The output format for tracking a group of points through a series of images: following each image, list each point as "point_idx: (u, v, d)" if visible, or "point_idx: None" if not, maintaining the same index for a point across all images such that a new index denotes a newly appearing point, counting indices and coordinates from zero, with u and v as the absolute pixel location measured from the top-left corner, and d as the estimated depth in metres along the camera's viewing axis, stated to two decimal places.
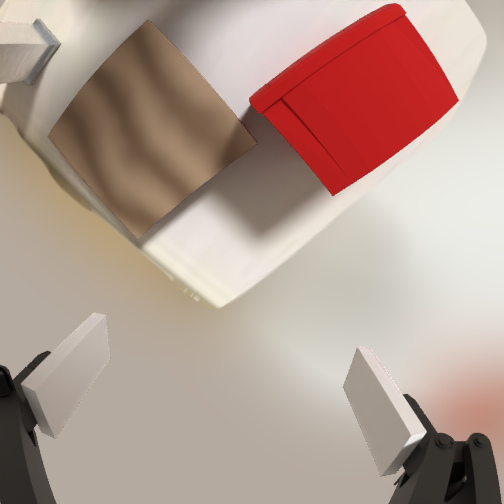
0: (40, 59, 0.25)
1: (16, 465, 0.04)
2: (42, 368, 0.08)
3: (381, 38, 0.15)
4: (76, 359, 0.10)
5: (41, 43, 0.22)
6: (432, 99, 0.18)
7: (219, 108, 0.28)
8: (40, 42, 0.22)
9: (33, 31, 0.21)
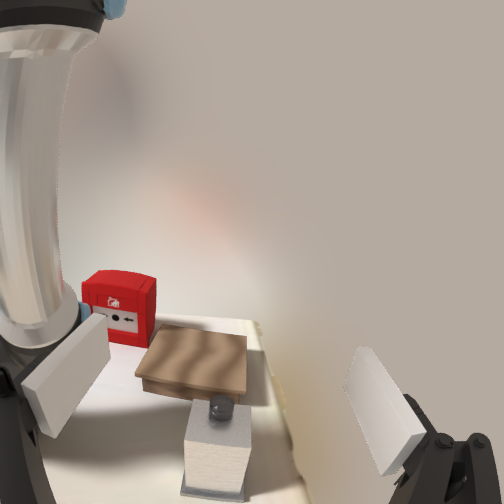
0: None
1: (16, 465, 0.04)
2: (42, 368, 0.08)
3: (100, 280, 0.58)
4: (76, 359, 0.10)
5: None
6: (106, 272, 0.64)
7: (159, 336, 0.58)
8: None
9: None
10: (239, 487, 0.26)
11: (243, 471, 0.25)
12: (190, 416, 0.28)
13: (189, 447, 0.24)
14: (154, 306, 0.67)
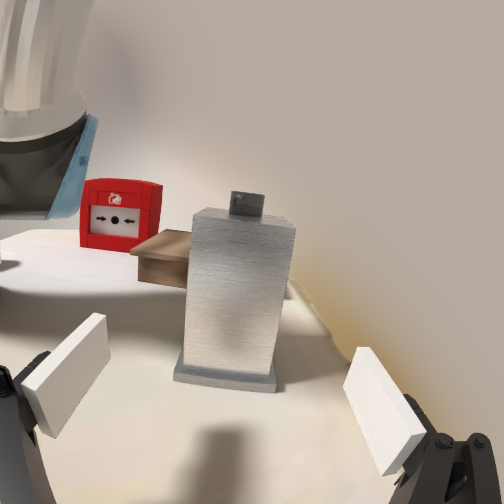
0: None
1: (16, 465, 0.04)
2: (42, 368, 0.08)
3: None
4: (76, 359, 0.10)
5: None
6: None
7: (162, 233, 0.53)
8: None
9: None
10: (270, 351, 0.21)
11: (280, 299, 0.20)
12: (203, 210, 0.23)
13: (199, 233, 0.19)
14: (158, 215, 0.62)
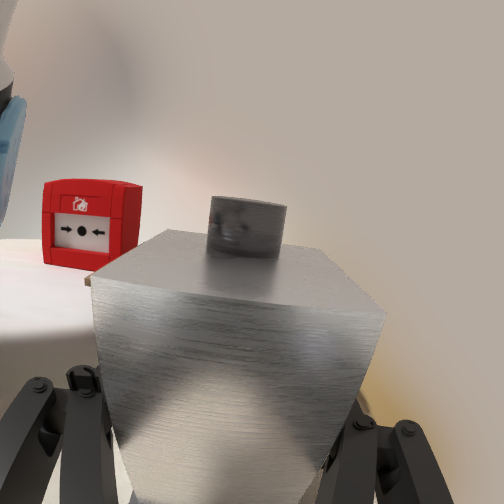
0: None
1: (88, 469, 0.05)
2: None
3: None
4: None
5: None
6: None
7: None
8: None
9: None
10: None
11: (322, 451, 0.07)
12: (147, 243, 0.10)
13: (113, 325, 0.06)
14: (137, 223, 0.49)
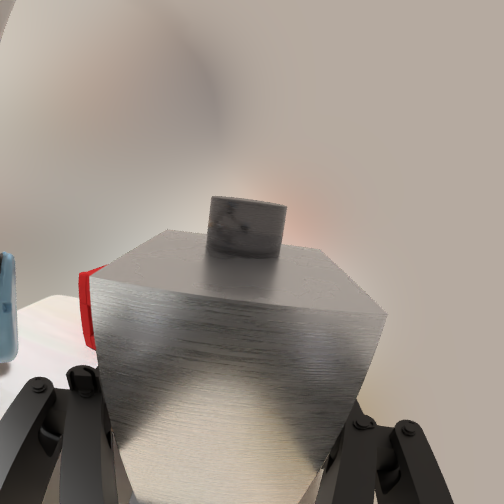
0: None
1: (88, 469, 0.05)
2: None
3: None
4: None
5: None
6: None
7: None
8: None
9: None
10: None
11: (322, 453, 0.07)
12: (146, 244, 0.09)
13: (112, 326, 0.06)
14: None
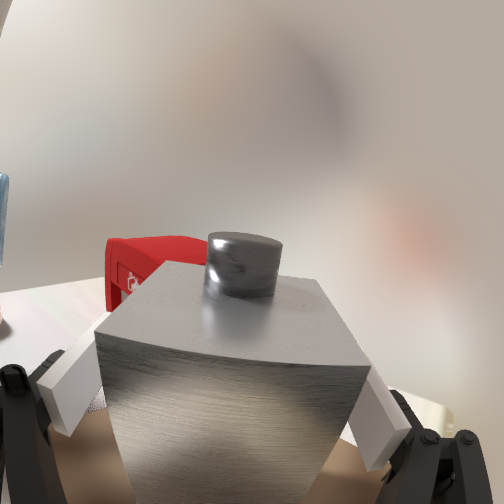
0: None
1: (29, 465, 0.04)
2: (57, 367, 0.08)
3: (134, 240, 0.32)
4: (90, 357, 0.10)
5: None
6: None
7: None
8: None
9: None
10: None
11: (311, 475, 0.07)
12: (146, 283, 0.10)
13: (117, 373, 0.06)
14: None
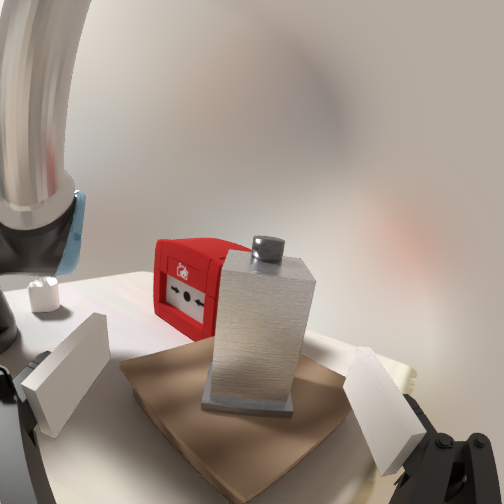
0: None
1: (16, 465, 0.04)
2: (42, 368, 0.08)
3: (180, 241, 0.47)
4: (76, 359, 0.10)
5: None
6: (205, 238, 0.53)
7: None
8: None
9: None
10: (289, 384, 0.23)
11: (299, 341, 0.22)
12: (227, 257, 0.24)
13: (227, 285, 0.21)
14: None
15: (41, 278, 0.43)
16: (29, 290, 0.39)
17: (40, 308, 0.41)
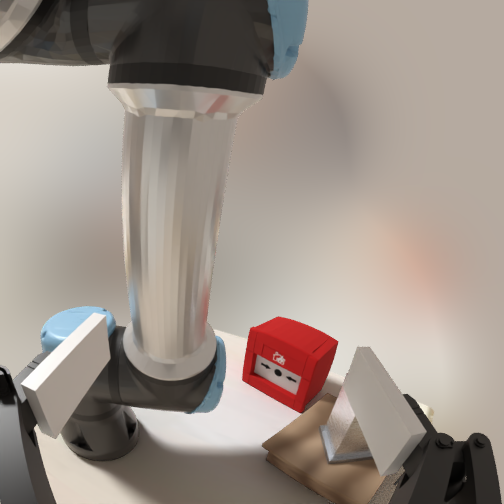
0: None
1: (16, 465, 0.04)
2: (42, 368, 0.08)
3: (272, 331, 0.57)
4: (76, 359, 0.10)
5: (329, 417, 0.40)
6: (285, 321, 0.63)
7: (315, 407, 0.47)
8: (329, 419, 0.40)
9: (333, 436, 0.36)
10: None
11: None
12: None
13: None
14: (327, 370, 0.57)
15: None
16: None
17: None
